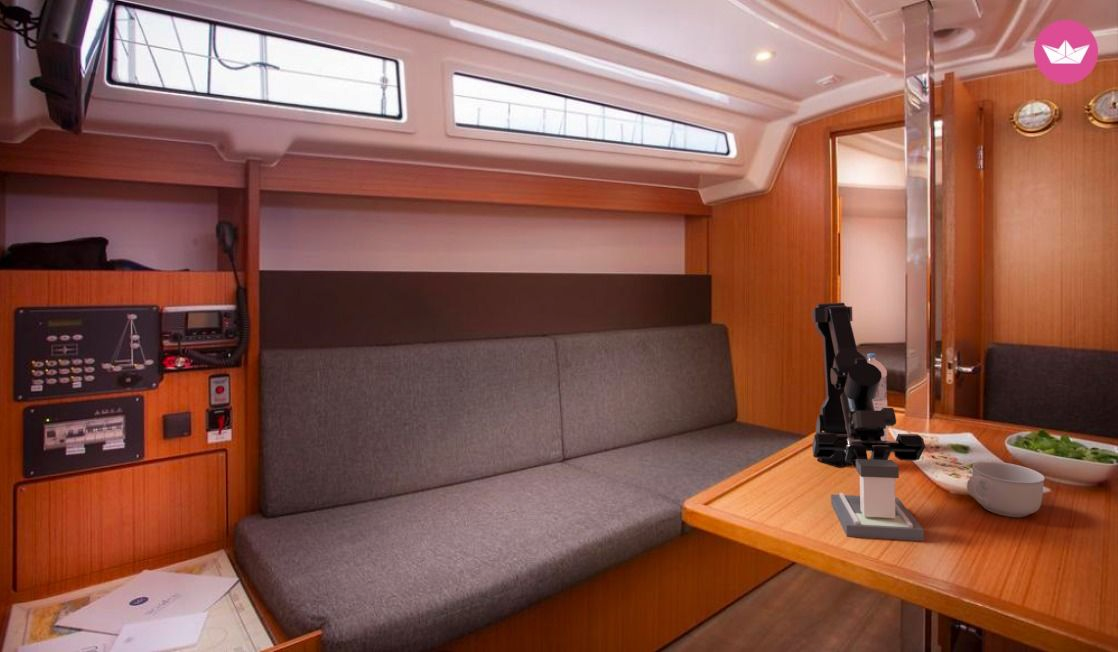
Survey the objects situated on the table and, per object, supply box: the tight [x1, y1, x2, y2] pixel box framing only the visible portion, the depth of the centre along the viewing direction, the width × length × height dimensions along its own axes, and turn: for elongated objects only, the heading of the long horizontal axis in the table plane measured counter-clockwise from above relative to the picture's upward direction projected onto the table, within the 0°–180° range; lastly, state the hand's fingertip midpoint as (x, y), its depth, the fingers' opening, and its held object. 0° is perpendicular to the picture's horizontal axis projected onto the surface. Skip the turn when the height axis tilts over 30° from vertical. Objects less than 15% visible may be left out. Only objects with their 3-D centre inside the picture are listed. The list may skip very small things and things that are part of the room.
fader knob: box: [855, 458, 900, 518], centre depth 103 cm, size 4×6×10 cm, turn 74°
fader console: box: [830, 492, 925, 542], centre depth 106 cm, size 15×12×3 cm
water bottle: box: [866, 353, 889, 441], centre depth 149 cm, size 7×7×25 cm
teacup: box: [966, 461, 1046, 518], centre depth 107 cm, size 14×11×8 cm
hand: (874, 487), depth 105 cm, fingers closed, pressing on fader knob
